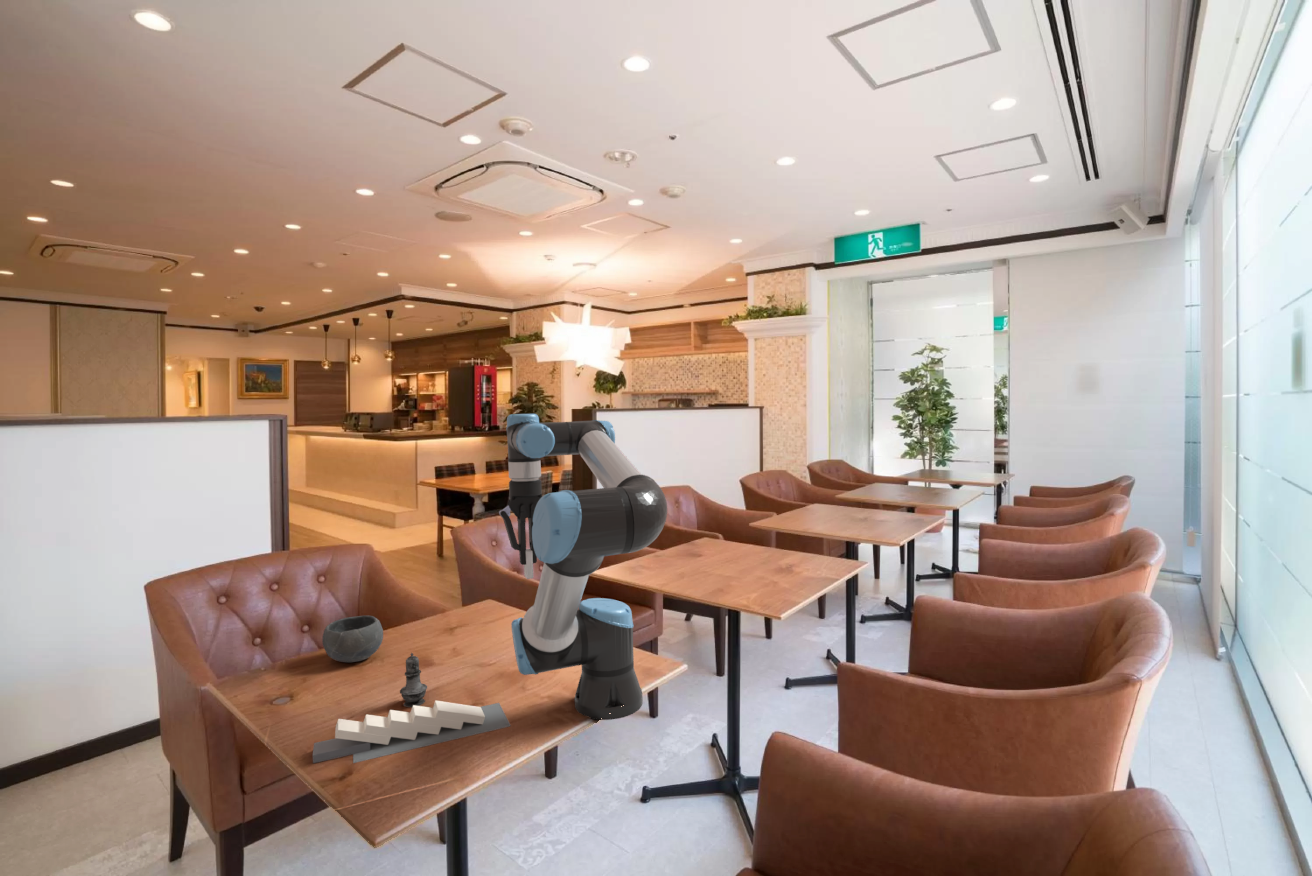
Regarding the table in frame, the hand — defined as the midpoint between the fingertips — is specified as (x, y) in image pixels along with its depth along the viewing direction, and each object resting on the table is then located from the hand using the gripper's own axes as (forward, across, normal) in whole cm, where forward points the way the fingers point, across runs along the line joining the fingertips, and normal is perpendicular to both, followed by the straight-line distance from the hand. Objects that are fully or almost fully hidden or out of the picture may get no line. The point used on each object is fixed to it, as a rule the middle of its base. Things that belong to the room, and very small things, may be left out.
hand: (528, 577), depth 156 cm
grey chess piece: (+27, +27, -3) cm, 38 cm away
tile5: (+25, +33, +12) cm, 43 cm away
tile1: (+25, +14, +12) cm, 32 cm away
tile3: (+25, +23, +12) cm, 36 cm away
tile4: (+25, +28, +12) cm, 40 cm away
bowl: (+27, +39, -40) cm, 62 cm away
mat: (+26, +24, +12) cm, 38 cm away
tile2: (+25, +19, +12) cm, 34 cm away
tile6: (+25, +36, +12) cm, 46 cm away
